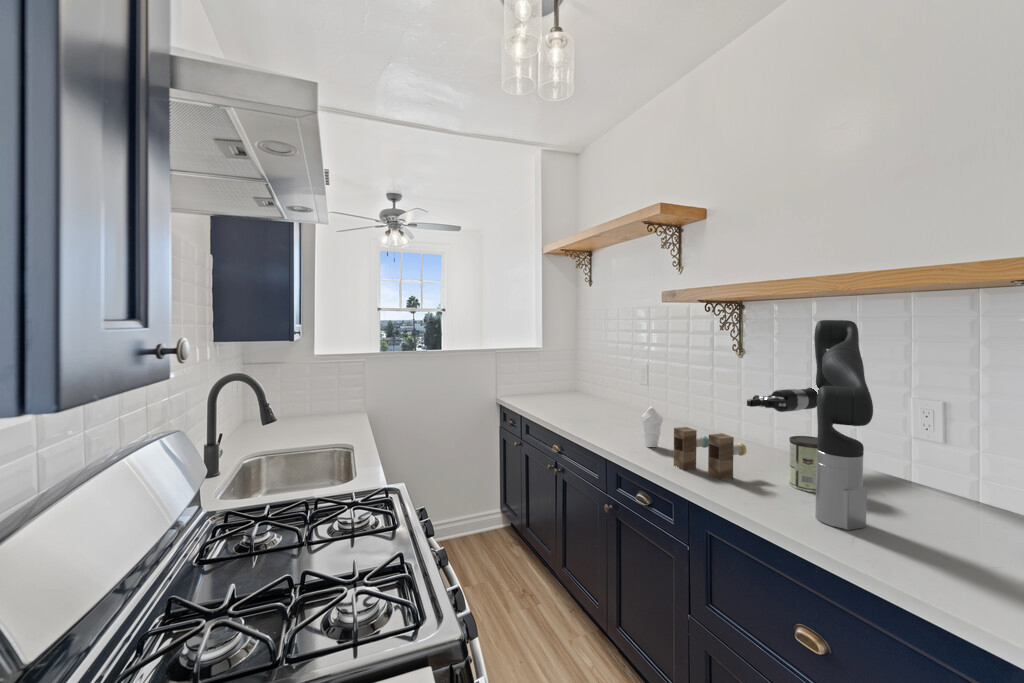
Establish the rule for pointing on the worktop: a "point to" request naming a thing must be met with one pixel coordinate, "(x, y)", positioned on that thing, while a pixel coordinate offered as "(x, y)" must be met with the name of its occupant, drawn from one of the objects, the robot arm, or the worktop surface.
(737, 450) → the ochre button
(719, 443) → the walnut box
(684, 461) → the walnut box
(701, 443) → the teal button
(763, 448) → the worktop surface
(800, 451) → the coffee can
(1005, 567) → the worktop surface
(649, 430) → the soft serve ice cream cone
